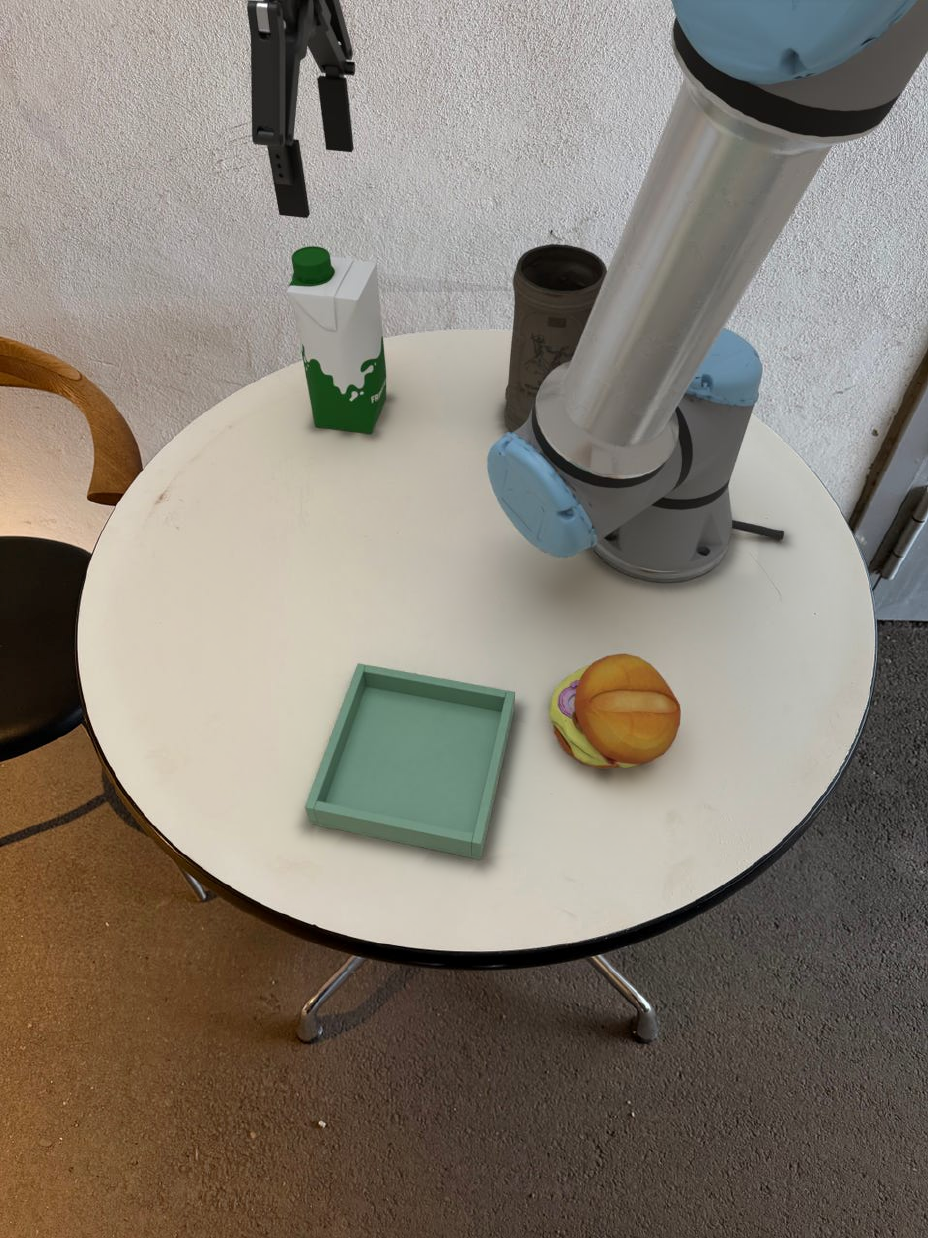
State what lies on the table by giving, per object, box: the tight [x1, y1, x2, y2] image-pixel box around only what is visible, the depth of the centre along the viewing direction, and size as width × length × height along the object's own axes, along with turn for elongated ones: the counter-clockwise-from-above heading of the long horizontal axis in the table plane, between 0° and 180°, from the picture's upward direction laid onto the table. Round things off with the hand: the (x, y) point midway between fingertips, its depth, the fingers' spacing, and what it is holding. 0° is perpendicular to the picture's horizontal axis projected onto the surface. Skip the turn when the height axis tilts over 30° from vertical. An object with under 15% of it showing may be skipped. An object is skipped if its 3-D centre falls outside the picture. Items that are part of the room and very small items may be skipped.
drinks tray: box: [304, 662, 516, 860], centre depth 74 cm, size 15×15×3 cm
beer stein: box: [503, 243, 608, 432], centre depth 96 cm, size 15×11×20 cm
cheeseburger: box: [548, 653, 682, 770], centre depth 74 cm, size 10×11×10 cm
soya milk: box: [285, 245, 387, 435], centre depth 97 cm, size 9×9×20 cm
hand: (318, 180), depth 83 cm, fingers open, 13 cm apart
